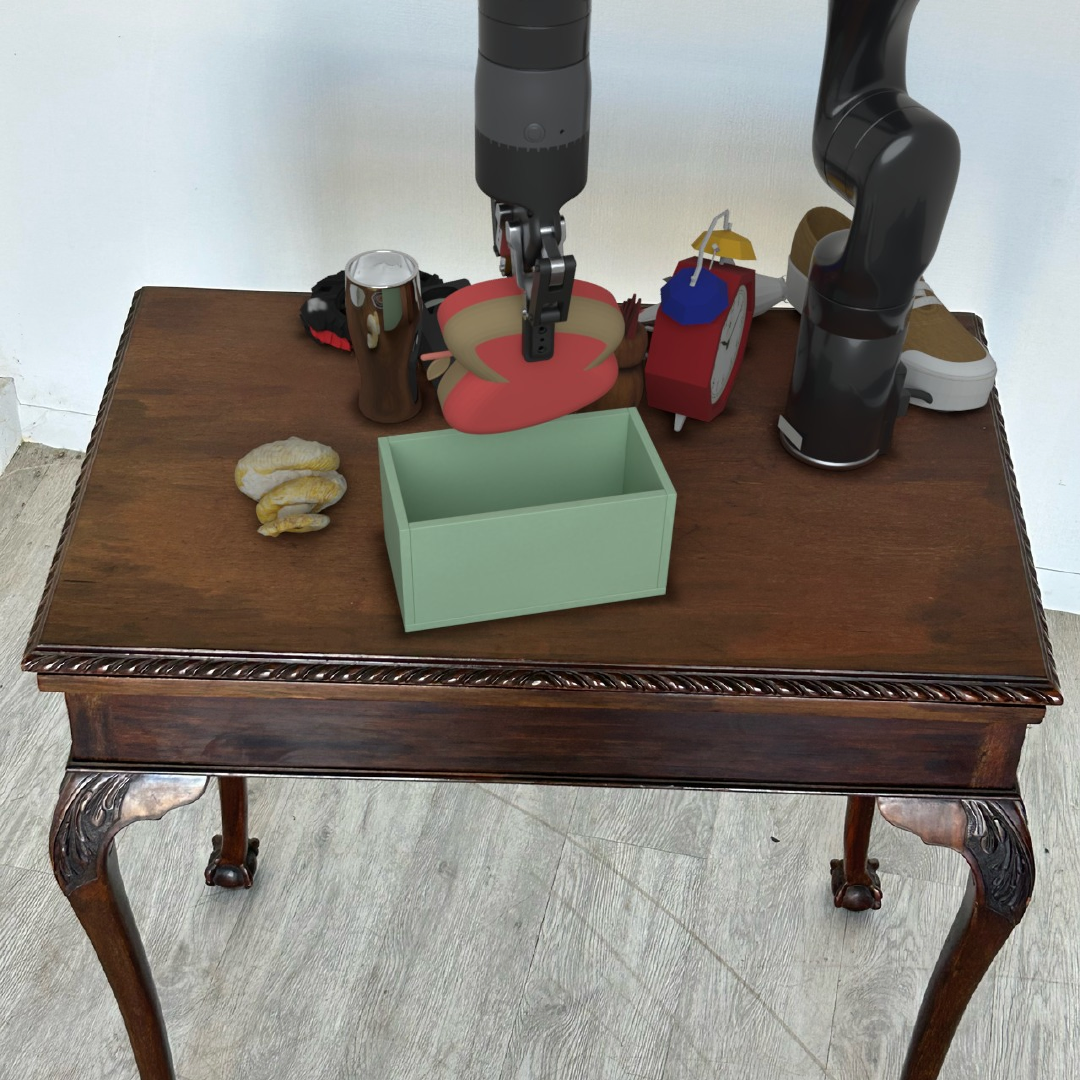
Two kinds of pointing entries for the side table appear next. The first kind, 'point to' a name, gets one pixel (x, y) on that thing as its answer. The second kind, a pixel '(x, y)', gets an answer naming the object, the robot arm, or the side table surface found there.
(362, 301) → the beer glass
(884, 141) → the robot arm
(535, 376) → the decorative object
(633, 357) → the wooden figurine
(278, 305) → the side table surface
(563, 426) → the bin
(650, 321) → the fish
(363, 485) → the side table surface
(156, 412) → the side table surface
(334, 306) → the toy
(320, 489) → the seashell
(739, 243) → the alarm clock
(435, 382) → the vhs tape
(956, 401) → the sneaker
